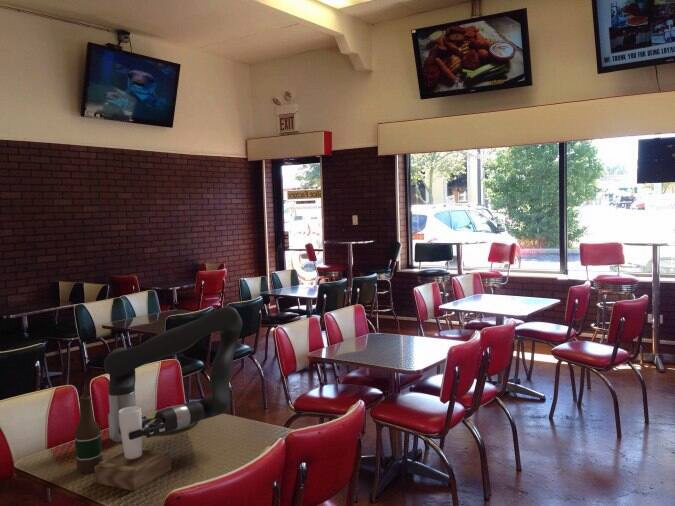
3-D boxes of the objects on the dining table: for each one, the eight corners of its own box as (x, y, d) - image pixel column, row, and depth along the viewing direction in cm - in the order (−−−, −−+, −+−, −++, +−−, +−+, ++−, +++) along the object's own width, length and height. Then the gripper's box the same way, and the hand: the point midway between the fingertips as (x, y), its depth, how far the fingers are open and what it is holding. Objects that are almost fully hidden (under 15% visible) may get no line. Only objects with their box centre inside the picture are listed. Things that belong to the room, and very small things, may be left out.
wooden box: (95, 482, 183) (94, 463, 183) (133, 462, 197) (132, 444, 197) (134, 490, 176) (133, 471, 176) (171, 469, 191) (170, 450, 190)
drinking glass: (137, 461, 182) (133, 413, 181) (117, 460, 184) (113, 413, 183) (148, 452, 189) (145, 406, 188) (129, 451, 190) (125, 405, 189)
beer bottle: (71, 472, 192) (66, 399, 190) (90, 462, 199) (84, 392, 197) (90, 475, 189) (84, 401, 187) (108, 465, 196) (103, 393, 194)
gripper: (161, 403, 201) (113, 417, 189) (183, 411, 191) (133, 427, 179) (163, 425, 201) (115, 440, 190) (185, 434, 191) (135, 451, 179)
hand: (124, 433), depth 184 cm, fingers closed on drinking glass, 6 cm apart
